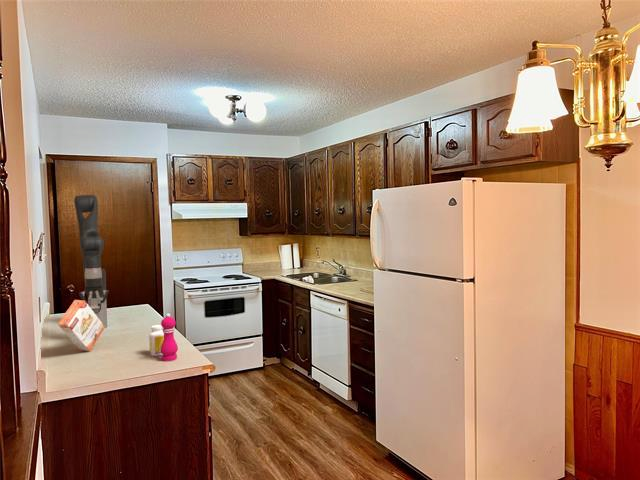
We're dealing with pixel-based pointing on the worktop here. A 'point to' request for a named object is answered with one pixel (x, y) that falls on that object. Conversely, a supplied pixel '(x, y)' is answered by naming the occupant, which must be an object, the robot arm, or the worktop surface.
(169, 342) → the pepper mill
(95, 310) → the tan flat bar
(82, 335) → the cracker box
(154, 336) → the supplement bottle
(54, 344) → the worktop surface
